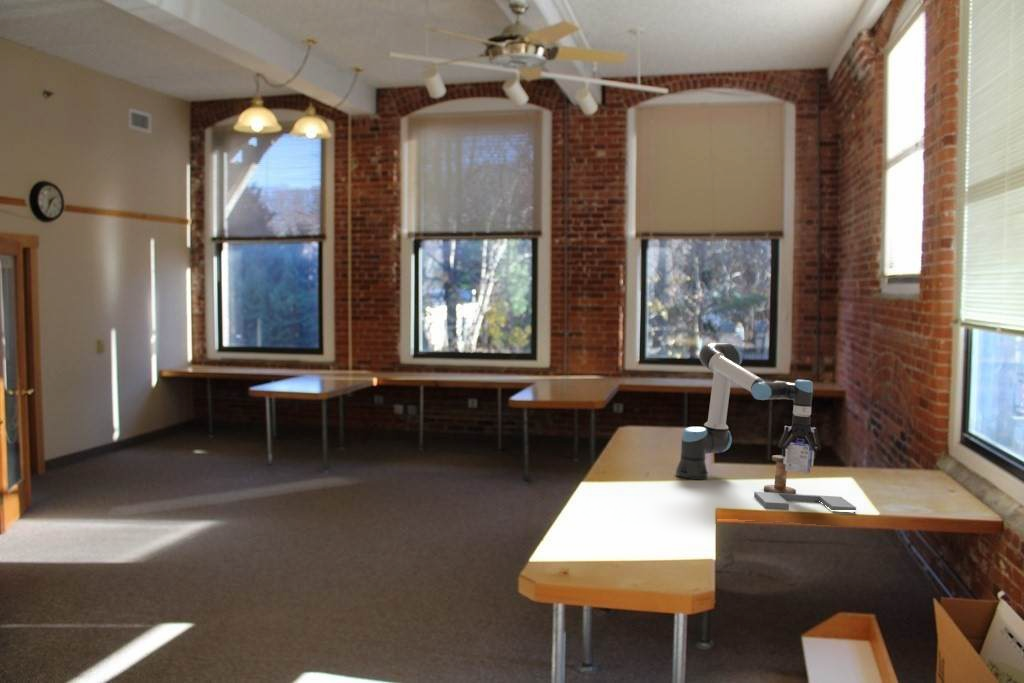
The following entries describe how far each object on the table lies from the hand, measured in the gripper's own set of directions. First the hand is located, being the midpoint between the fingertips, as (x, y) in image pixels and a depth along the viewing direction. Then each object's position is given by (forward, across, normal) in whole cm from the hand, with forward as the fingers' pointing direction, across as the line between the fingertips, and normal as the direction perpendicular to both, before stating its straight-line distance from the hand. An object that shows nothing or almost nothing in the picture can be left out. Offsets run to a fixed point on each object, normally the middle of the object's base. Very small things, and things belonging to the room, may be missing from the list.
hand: (798, 464), depth 383 cm
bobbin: (+15, -4, +12) cm, 20 cm away
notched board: (+16, +1, -9) cm, 18 cm away
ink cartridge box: (+3, 0, 0) cm, 3 cm away
